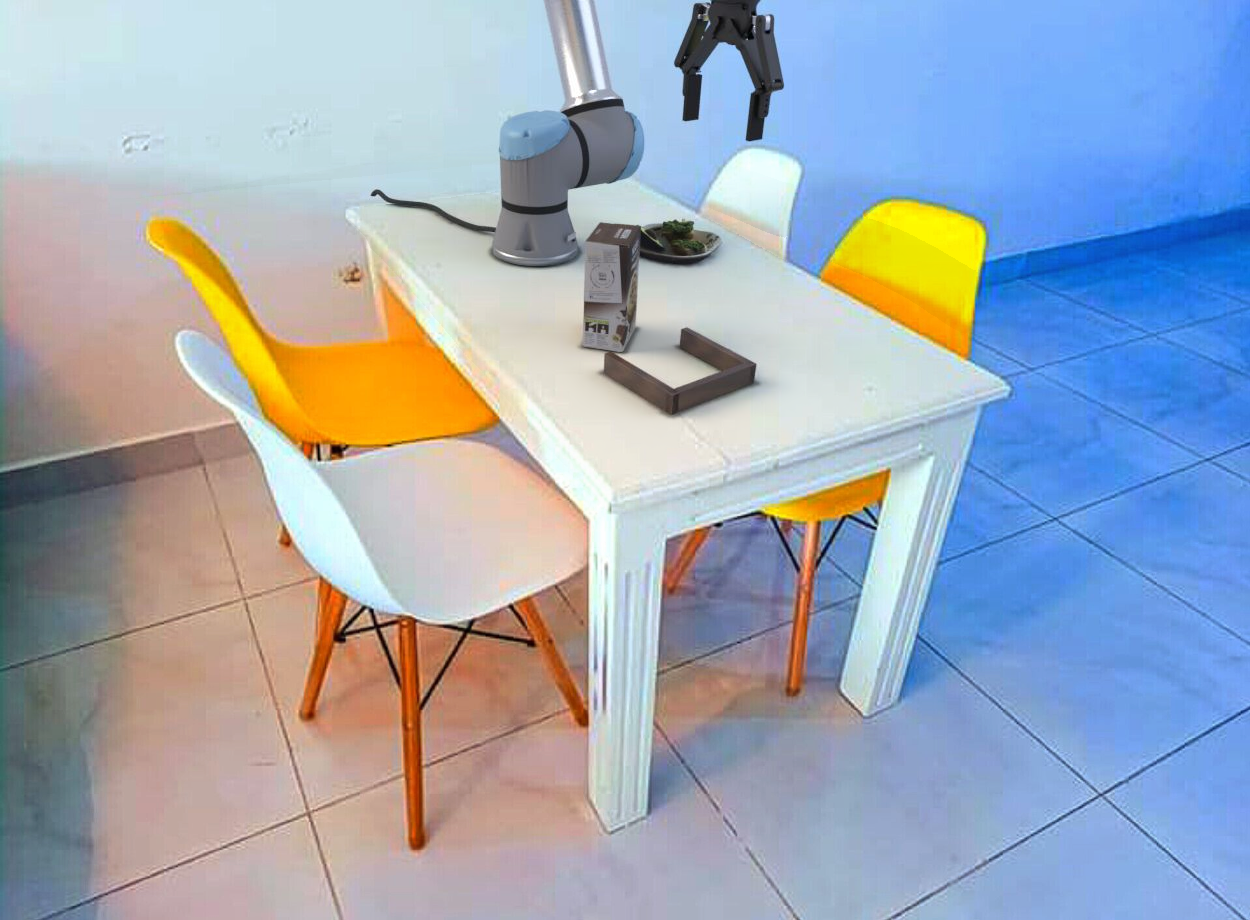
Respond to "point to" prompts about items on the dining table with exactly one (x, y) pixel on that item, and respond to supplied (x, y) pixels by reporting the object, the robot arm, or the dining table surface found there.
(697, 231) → the salad plate
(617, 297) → the coffee box
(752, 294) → the dining table surface
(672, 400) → the walnut holder
